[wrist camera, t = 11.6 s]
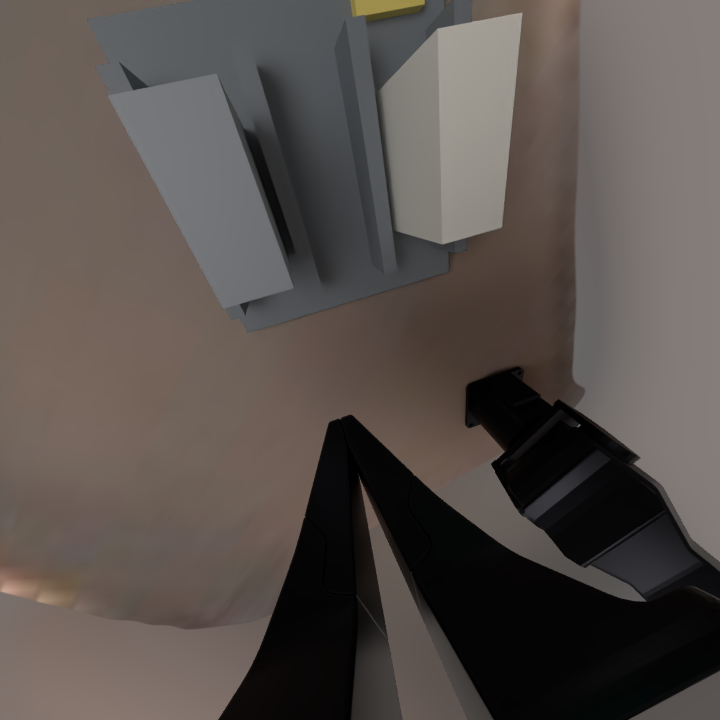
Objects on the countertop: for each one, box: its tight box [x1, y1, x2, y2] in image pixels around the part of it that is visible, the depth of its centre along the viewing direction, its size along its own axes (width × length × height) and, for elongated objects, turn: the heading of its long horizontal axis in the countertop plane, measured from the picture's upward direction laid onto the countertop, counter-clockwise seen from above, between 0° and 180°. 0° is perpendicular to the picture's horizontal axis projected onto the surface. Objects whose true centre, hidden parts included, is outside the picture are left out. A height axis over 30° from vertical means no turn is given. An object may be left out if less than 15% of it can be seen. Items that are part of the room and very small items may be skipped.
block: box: [375, 13, 522, 244], centre depth 12 cm, size 6×3×7 cm, turn 12°
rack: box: [87, 0, 472, 333], centre depth 12 cm, size 14×15×8 cm
